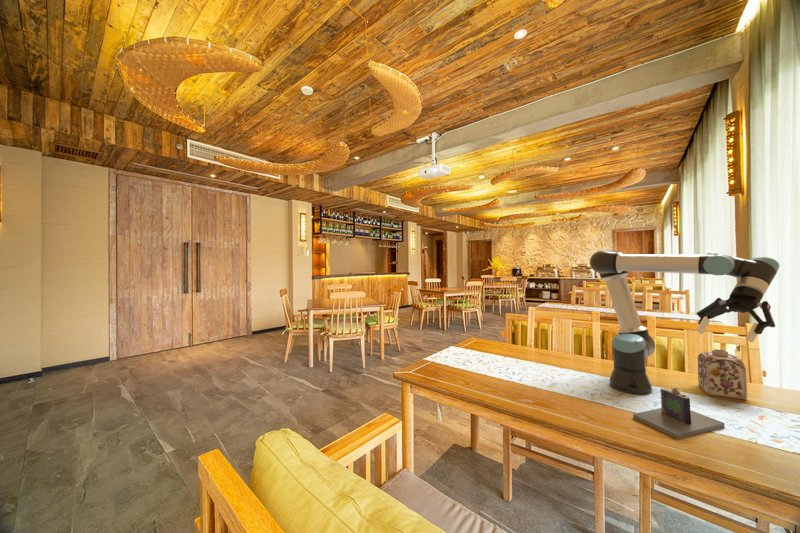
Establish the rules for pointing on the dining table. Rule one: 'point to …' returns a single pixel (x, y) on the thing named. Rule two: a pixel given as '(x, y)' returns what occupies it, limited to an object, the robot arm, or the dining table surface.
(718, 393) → the decorative jar
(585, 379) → the dining table surface
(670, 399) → the flask
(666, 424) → the slate board
